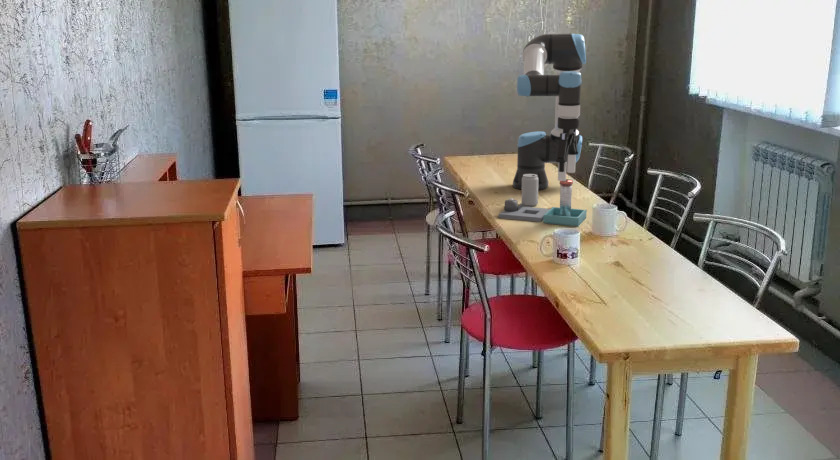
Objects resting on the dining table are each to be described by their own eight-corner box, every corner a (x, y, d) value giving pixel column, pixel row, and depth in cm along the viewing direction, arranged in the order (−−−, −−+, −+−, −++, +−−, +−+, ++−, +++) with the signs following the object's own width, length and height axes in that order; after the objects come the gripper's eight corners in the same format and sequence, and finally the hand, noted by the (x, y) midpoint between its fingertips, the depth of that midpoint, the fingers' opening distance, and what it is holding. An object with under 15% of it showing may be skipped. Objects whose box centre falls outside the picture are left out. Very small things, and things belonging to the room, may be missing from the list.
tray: (552, 214, 293) (552, 206, 292) (586, 217, 288) (586, 209, 287) (543, 223, 282) (543, 214, 281) (578, 226, 277) (578, 218, 276)
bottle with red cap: (560, 217, 288) (561, 178, 284) (572, 218, 286) (574, 179, 282) (557, 220, 284) (558, 181, 280) (569, 221, 282) (571, 182, 278)
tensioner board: (509, 209, 302) (510, 194, 300) (551, 212, 296) (551, 197, 294) (498, 217, 290) (498, 202, 288) (541, 221, 283) (541, 206, 282)
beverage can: (537, 207, 304) (538, 176, 301) (520, 206, 305) (521, 176, 302) (538, 203, 310) (539, 173, 307) (521, 202, 311) (522, 173, 308)
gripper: (566, 111, 287) (564, 168, 293) (548, 121, 265) (546, 183, 271) (587, 112, 284) (584, 170, 290) (570, 122, 262) (568, 185, 268)
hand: (566, 176), depth 281 cm, fingers open, 13 cm apart
